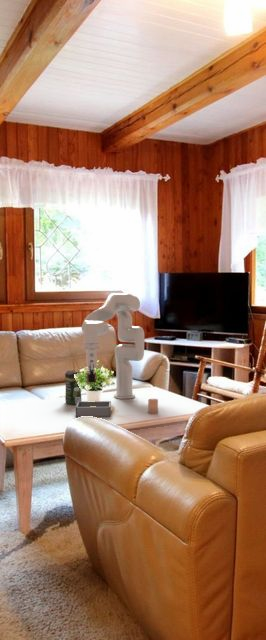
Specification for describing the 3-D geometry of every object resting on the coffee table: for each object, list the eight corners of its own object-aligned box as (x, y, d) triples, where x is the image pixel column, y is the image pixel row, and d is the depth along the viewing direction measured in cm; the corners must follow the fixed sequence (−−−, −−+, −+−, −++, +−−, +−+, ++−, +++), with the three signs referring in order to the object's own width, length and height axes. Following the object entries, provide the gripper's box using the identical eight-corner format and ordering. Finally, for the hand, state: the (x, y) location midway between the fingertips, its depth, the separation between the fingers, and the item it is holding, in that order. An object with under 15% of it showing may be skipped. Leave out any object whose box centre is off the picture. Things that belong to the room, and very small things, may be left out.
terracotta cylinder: (148, 411, 282) (148, 398, 282) (157, 411, 283) (157, 398, 282) (148, 414, 278) (148, 400, 277) (158, 414, 278) (158, 400, 277)
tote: (78, 410, 285) (78, 401, 285) (111, 410, 285) (110, 401, 285) (75, 417, 272) (75, 407, 271) (110, 416, 272) (110, 407, 272)
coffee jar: (63, 402, 304) (63, 370, 303) (76, 400, 308) (75, 369, 307) (70, 405, 296) (70, 372, 295) (83, 404, 300) (83, 371, 299)
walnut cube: (95, 380, 280) (95, 371, 279) (96, 382, 275) (96, 372, 274) (86, 380, 279) (86, 371, 279) (86, 382, 274) (86, 373, 274)
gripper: (99, 348, 268) (99, 383, 269) (97, 344, 284) (97, 377, 286) (84, 348, 267) (84, 384, 268) (83, 344, 283) (83, 378, 285)
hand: (91, 380), depth 277 cm, fingers closed on walnut cube, 5 cm apart
